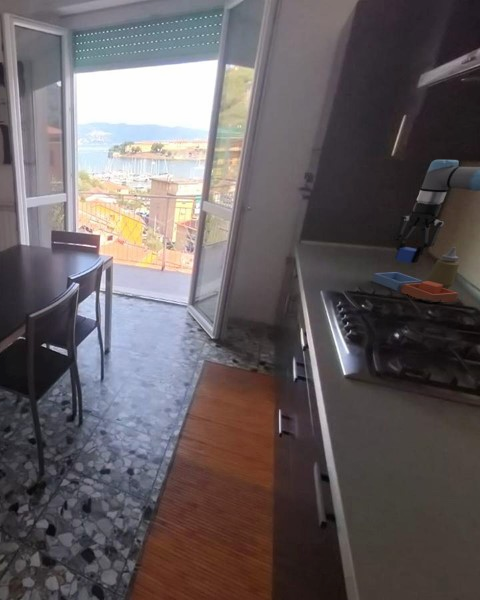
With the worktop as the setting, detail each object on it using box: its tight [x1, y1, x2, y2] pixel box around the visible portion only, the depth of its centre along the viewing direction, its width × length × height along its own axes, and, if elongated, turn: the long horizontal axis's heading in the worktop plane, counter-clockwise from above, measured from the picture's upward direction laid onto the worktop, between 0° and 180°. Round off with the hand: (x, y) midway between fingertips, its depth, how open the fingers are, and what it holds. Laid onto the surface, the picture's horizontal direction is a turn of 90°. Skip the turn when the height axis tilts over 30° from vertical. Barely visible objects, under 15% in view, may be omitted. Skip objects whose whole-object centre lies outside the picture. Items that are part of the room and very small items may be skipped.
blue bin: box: [371, 271, 424, 292], centre depth 152 cm, size 11×11×4 cm
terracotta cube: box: [418, 280, 443, 294], centre depth 140 cm, size 5×5×5 cm
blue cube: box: [395, 246, 417, 264], centre depth 146 cm, size 5×5×5 cm
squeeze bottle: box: [426, 246, 460, 290], centre depth 144 cm, size 8×8×18 cm
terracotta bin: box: [400, 283, 459, 303], centre depth 140 cm, size 11×11×4 cm
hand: (406, 260), depth 147 cm, fingers closed on blue cube, 5 cm apart
